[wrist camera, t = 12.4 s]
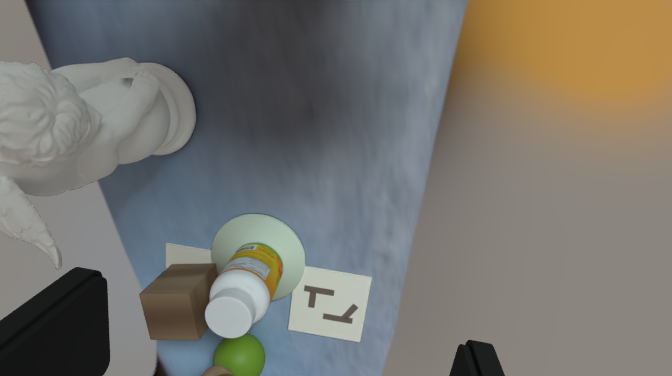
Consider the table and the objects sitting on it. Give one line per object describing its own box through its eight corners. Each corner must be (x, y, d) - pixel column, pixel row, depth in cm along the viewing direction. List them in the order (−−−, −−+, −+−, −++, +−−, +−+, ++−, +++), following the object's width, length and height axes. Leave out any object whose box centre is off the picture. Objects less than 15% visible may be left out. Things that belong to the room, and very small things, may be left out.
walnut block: (171, 264, 44) (139, 294, 39) (215, 263, 44) (188, 293, 38) (180, 304, 46) (150, 339, 40) (223, 304, 45) (198, 340, 39)
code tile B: (166, 242, 44) (165, 243, 44) (240, 254, 43) (239, 255, 43) (166, 306, 46) (165, 308, 46) (235, 319, 46) (234, 320, 46)
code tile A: (296, 264, 43) (295, 265, 43) (371, 277, 43) (371, 278, 43) (288, 328, 46) (287, 329, 45) (359, 341, 45) (359, 342, 45)
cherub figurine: (189, 46, 38) (-44, 27, 17) (237, 172, 41) (91, 290, 20) (77, 85, 40) (-255, 112, 19) (130, 203, 43) (-103, 337, 22)
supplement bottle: (270, 294, 44) (242, 356, 35) (225, 270, 44) (186, 326, 34) (293, 255, 42) (271, 310, 33) (247, 230, 42) (212, 278, 33)
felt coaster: (214, 206, 42) (213, 207, 42) (311, 222, 42) (310, 223, 41) (210, 291, 45) (209, 293, 45) (300, 306, 45) (299, 308, 44)
